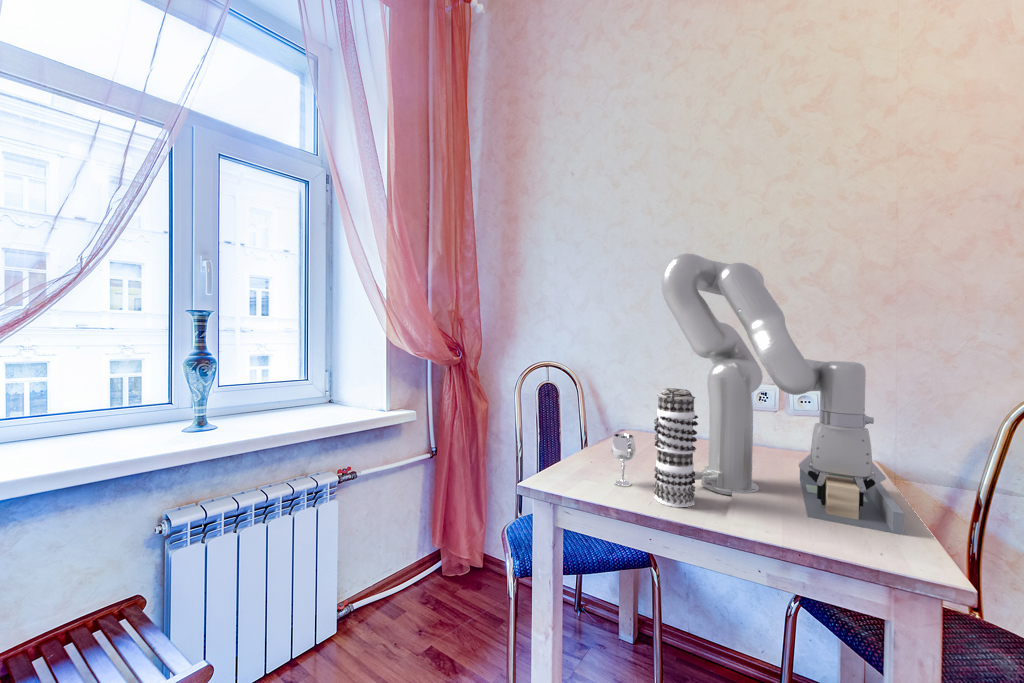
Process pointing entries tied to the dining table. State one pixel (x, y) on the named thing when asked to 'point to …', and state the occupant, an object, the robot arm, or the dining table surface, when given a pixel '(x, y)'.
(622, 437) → the wineglass
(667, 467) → the decorative candle
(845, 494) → the oak block
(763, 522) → the dining table surface
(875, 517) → the tray
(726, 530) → the dining table surface
